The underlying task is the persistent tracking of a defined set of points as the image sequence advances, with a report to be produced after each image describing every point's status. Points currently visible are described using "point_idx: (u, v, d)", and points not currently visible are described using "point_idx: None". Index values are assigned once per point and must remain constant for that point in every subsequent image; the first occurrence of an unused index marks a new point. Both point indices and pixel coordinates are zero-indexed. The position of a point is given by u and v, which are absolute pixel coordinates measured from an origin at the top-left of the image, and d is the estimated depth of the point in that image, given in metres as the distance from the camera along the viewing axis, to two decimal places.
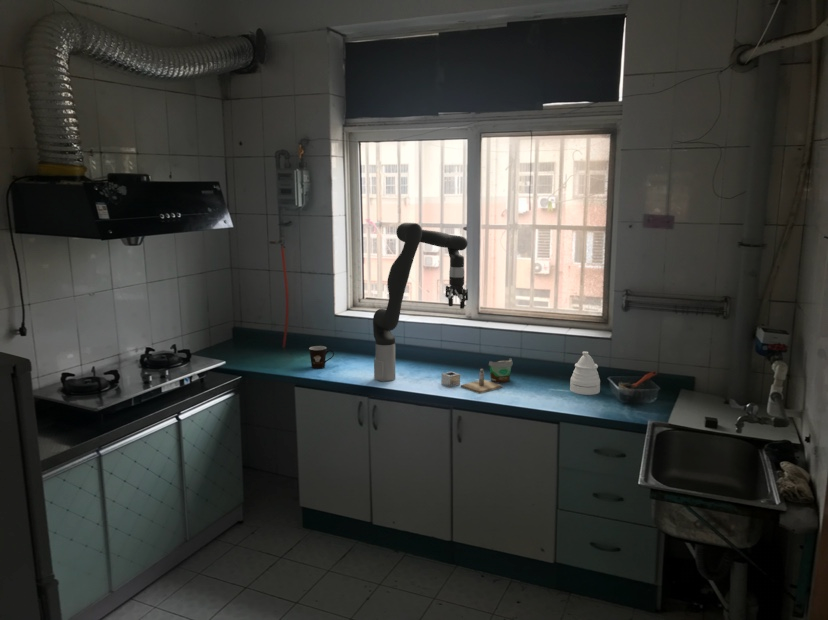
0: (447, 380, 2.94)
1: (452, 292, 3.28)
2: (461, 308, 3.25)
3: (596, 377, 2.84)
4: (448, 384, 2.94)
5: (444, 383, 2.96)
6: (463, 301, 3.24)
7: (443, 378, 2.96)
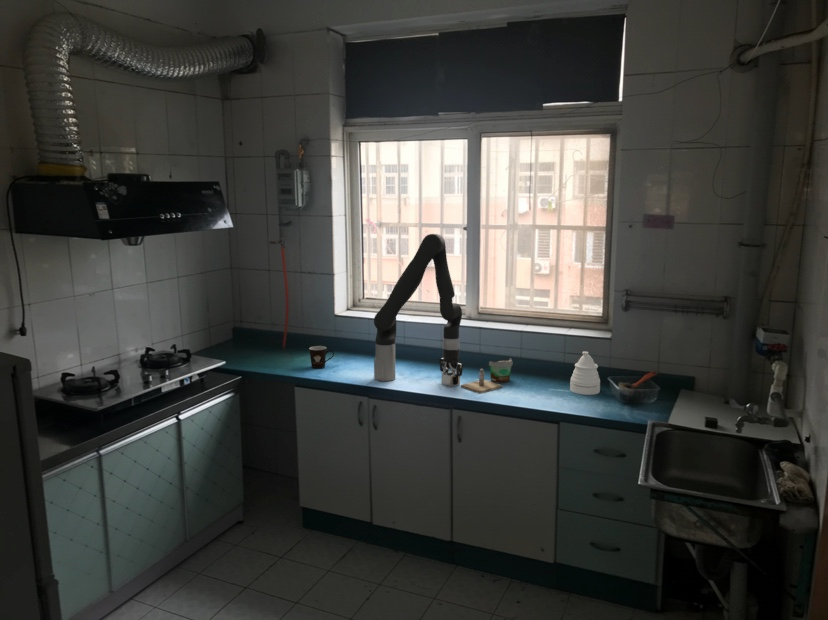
0: (447, 380, 2.94)
1: (446, 365, 2.96)
2: (454, 384, 2.94)
3: (596, 377, 2.84)
4: (448, 384, 2.94)
5: (444, 383, 2.96)
6: (457, 377, 2.93)
7: (443, 378, 2.96)
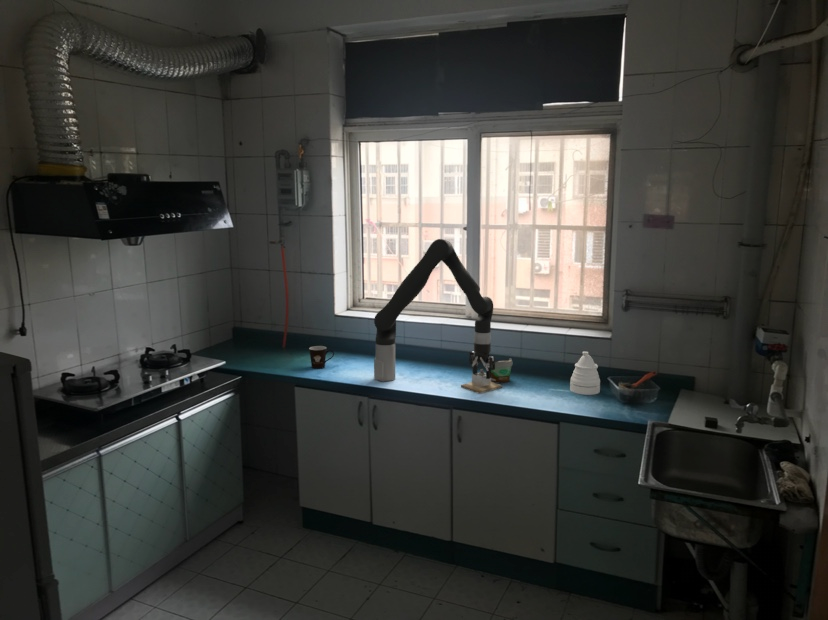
0: (478, 381, 2.90)
1: (477, 359, 2.91)
2: (487, 378, 2.88)
3: (596, 377, 2.84)
4: (479, 385, 2.90)
5: (475, 384, 2.92)
6: (490, 370, 2.87)
7: (474, 379, 2.92)
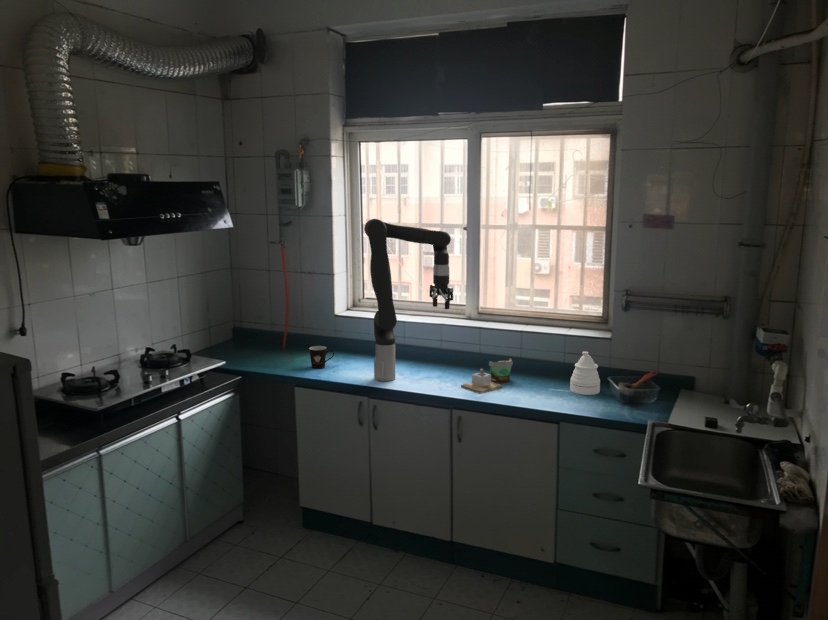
0: (478, 381, 2.90)
1: (436, 291, 3.05)
2: None
3: (596, 377, 2.84)
4: (479, 385, 2.90)
5: (475, 384, 2.92)
6: (448, 301, 3.01)
7: (474, 379, 2.92)
